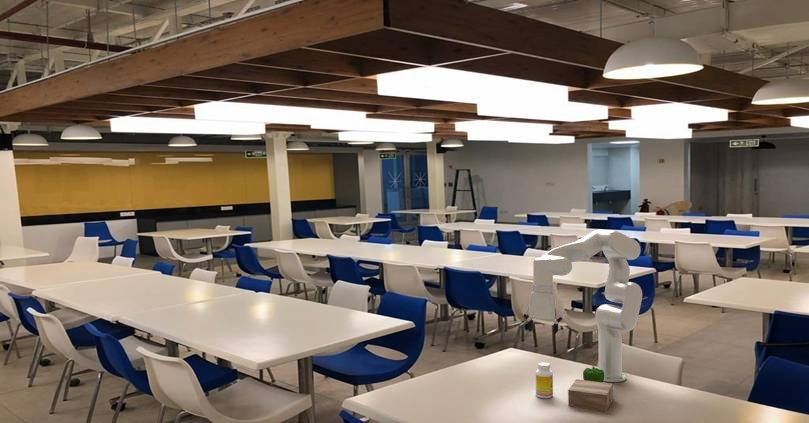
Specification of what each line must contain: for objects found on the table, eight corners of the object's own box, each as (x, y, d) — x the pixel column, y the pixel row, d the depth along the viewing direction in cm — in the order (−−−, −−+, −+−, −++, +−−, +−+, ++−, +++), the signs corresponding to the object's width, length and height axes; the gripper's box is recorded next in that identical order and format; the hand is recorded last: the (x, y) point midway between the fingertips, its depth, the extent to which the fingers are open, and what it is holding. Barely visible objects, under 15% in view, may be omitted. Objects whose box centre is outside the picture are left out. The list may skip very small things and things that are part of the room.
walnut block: (576, 394, 247) (576, 379, 246) (612, 398, 240) (612, 383, 240) (568, 405, 234) (568, 390, 234) (606, 411, 228) (606, 395, 228)
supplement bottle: (553, 399, 242) (552, 366, 241) (535, 398, 243) (535, 366, 242) (552, 393, 248) (552, 361, 248) (535, 392, 250) (535, 361, 249)
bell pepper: (587, 384, 258) (586, 360, 258) (606, 387, 253) (606, 363, 253) (580, 390, 251) (579, 365, 251) (600, 393, 247) (599, 368, 246)
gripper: (518, 289, 245) (518, 332, 245) (562, 292, 237) (562, 336, 237) (524, 286, 251) (524, 328, 252) (567, 289, 243) (567, 332, 244)
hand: (542, 332), depth 245 cm, fingers open, 9 cm apart
